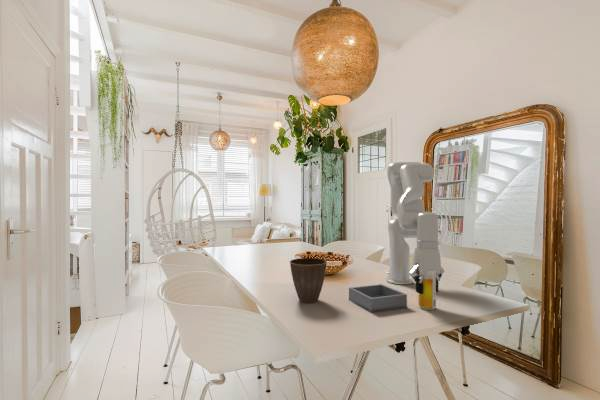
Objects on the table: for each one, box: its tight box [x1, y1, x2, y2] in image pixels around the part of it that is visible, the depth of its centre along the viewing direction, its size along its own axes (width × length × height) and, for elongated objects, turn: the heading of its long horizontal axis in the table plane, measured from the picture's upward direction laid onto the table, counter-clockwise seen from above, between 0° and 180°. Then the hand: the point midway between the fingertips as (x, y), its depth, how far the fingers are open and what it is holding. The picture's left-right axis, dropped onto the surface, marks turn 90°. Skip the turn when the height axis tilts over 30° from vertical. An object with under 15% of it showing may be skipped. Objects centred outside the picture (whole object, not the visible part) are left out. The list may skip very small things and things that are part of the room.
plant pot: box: [289, 257, 328, 304], centre depth 129 cm, size 15×15×16 cm
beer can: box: [418, 270, 437, 311], centre depth 121 cm, size 6×6×15 cm
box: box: [348, 283, 408, 314], centre depth 126 cm, size 16×16×5 cm
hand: (427, 291), depth 121 cm, fingers open, 6 cm apart
